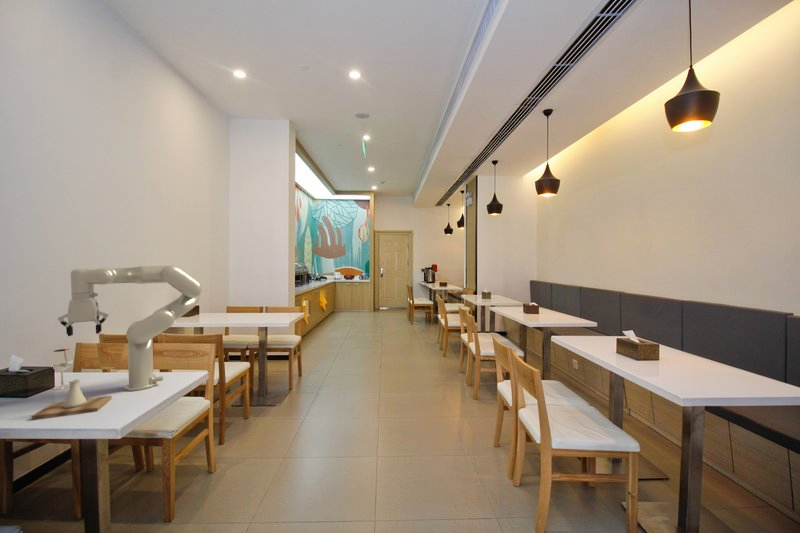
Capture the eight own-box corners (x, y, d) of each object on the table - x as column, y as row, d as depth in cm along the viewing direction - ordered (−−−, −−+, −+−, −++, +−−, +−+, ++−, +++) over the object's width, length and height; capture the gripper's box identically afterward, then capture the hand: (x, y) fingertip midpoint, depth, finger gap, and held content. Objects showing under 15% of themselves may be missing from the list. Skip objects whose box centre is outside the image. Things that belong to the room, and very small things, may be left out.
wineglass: (53, 391, 163) (52, 353, 163) (48, 388, 168) (47, 351, 168) (76, 386, 170) (75, 349, 170) (70, 383, 175) (69, 347, 175)
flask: (72, 409, 138) (71, 384, 138) (57, 408, 140) (57, 383, 140) (91, 402, 145) (91, 378, 145) (77, 401, 147) (77, 377, 147)
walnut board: (111, 398, 153) (111, 395, 153) (97, 411, 140) (97, 407, 139) (52, 406, 145) (52, 402, 145) (31, 420, 132) (31, 416, 132)
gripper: (109, 294, 164) (111, 330, 164) (61, 297, 156) (62, 335, 156) (104, 295, 157) (106, 333, 157) (53, 298, 149) (55, 338, 150)
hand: (84, 334), depth 157 cm, fingers open, 9 cm apart
